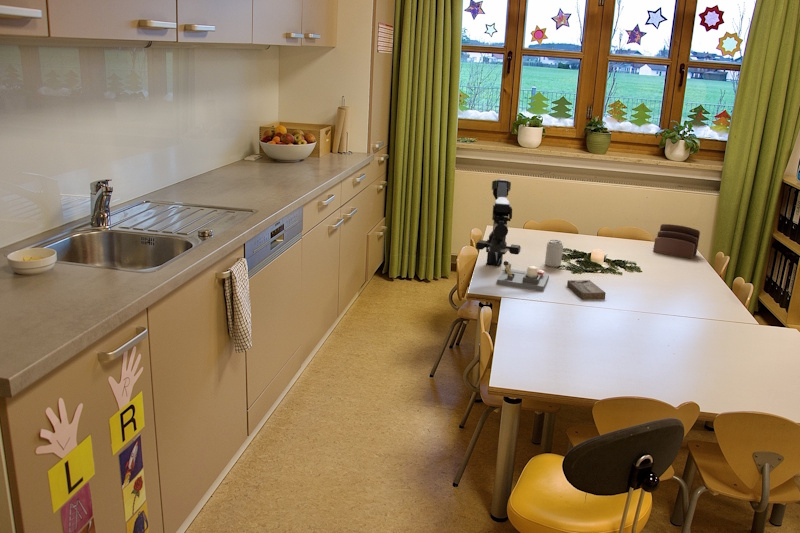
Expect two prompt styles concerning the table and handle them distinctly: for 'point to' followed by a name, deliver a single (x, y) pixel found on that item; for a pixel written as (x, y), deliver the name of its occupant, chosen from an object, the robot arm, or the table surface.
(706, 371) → the table surface
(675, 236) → the letter holder
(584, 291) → the grey flat block
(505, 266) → the lever
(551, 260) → the can
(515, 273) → the panel
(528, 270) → the button
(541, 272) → the rocker
